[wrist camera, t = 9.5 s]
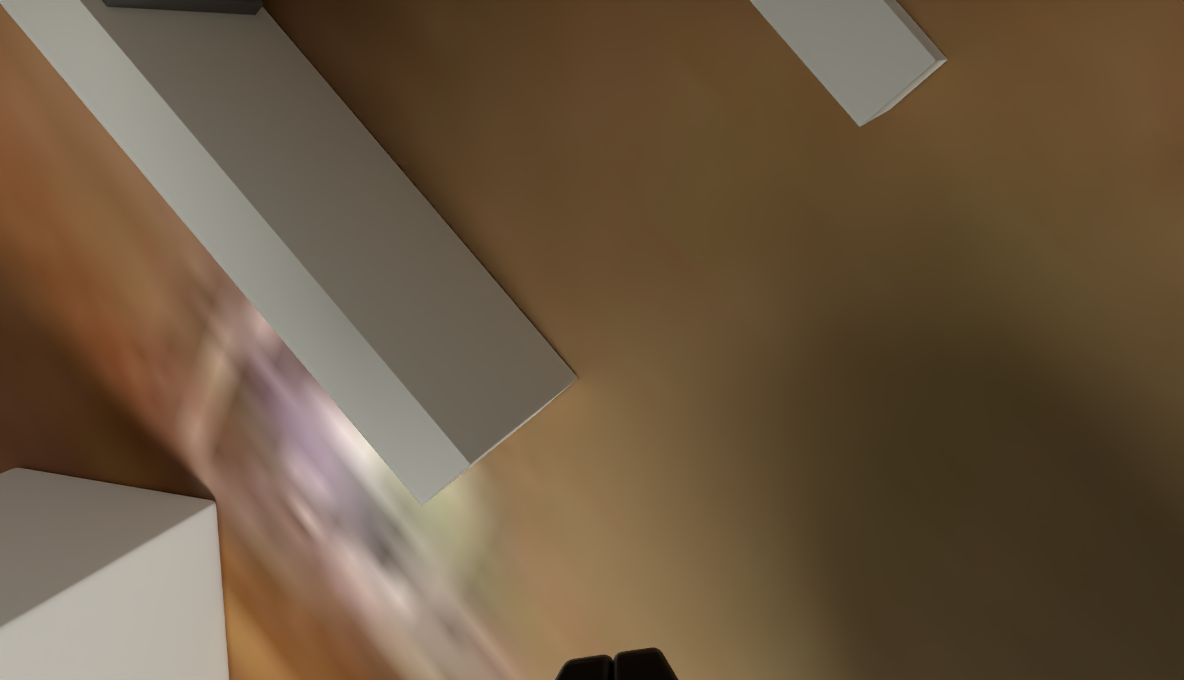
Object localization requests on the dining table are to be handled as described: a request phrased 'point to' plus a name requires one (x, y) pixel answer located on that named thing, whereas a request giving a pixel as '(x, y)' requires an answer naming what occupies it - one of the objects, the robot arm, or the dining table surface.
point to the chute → (368, 204)
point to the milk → (108, 582)
